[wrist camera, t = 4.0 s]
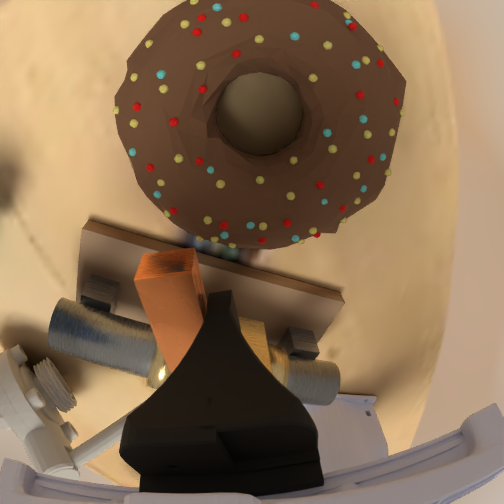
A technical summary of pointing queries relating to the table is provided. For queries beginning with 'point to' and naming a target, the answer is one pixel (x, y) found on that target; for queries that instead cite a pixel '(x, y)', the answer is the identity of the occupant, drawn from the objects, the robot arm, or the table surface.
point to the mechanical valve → (46, 416)
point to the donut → (247, 165)
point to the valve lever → (172, 300)
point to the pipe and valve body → (150, 356)
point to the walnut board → (207, 283)
